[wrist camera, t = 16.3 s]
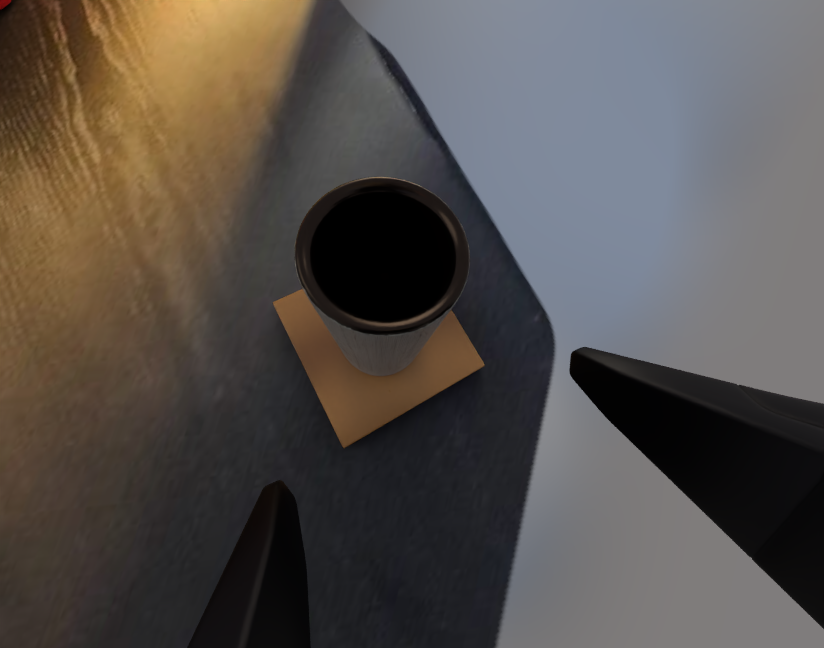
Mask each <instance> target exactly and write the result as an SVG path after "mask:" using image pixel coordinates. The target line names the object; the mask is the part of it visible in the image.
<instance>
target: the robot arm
mask: <svg viewBox="0 0 824 648" xmlns="http://www.w3.org/2000/svg"><path fill="white" fill-rule="evenodd" d="M570 375H571V377H572V378H573V380H574V381H575V382H576V383H577V384H578V386H579V387H580V388H581V389H582V390H583V391H584V393H585V394H586V395H587V396H588V397H589V398H590V400H591V401H592V402H593V403H594V404H595V405H596V406H597V408H598V409H599V410H600V411H601V412H602V413H603V414H604V416H605V417H606V418H607V419H608V420H609V421H610V422H611V423H612V424H613V425H614V426H615V427H617V429H618V430H619V431H620V432H622V433H623V434H624V435H625V436H626V437H627V438H628V439H629V440H630V441H631V442H632V443H633V444H634V445H635V446H636V447H637V448H638V449H639V450H640V451H641V452H642V453H643V454H644V455H645V456H646V457H647V458H648V459H649V460H650V461H651V462H652V463H653V464H655V466H657V467H658V468H659V469H660V470H661V471H662V472H663V473H664V474H665V475H666V476H667V477H668V478H669V479H670V480H671V481H672V482H673V483H674V484H675V485H676V486H677V487H678V488H679V489H680V490H681V491H682V492H683V493H684V494H686V496H687V497H689V498H690V499H691V500H692V501H693V502H694V503H695V504H696V505H697V506H698V507H699V508H700V509H701V510H702V511H703V512H704V513H705V514H706V515H707V516H708V517H709V518H710V519H711V520H712V521H713V522H714V523H715V524H716V525H717V526H718V527H719V528H721V529H722V530H723V531H724V532H725V533H726V534H727V535H728V536H729V537H730V538H731V539H732V540H733V541H734V542H735V543H736V544H737V545H738V546H739V547H740V548H741V549H742V550H743V551H744V552H745V553H746V554H747V555H748V556H749V557H751V558H752V560H753V561H754V562H755V563H756V564H757V565H758V566H759V567H760V568H761V569H763V570H764V571H765V572H766V573H767V574H768V575H769V576H770V577H771V578H772V579H773V580H774V581H775V582H776V583H777V584H778V585H779V586H780V587H781V588H782V589H783V590H784V591H785V592H786V593H787V594H788V595H789V596H790V597H792V599H793V600H795V601H796V602H797V603H798V604H799V605H800V606H801V607H802V608H803V609H804V610H805V611H806V612H807V613H808V614H809V615H810V616H811V617H812V618H813V619H814V620H815V621H816V622H817V623H818V624H819V625H820V626H821V627H822V628H823V629H824V404H821V403H817V402H812V401H807V400H802V399H798V398H793V397H788V396H784V395H779V394H776V393H771V392H767V391H762V390H758V389H754V388H750V387H746V386H742V385H737V384H734V383H730V382H726V381H721V380H718V379H714V378H710V377H705V376H701V375H697V374H693V373H689V372H685V371H681V370H677V369H673V368H669V367H665V366H661V365H657V364H653V363H649V362H645V361H641V360H637V359H632V358H628V357H624V356H620V355H616V354H612V353H608V352H604V351H600V350H596V349H592V348H587V347H582V348H579V349H577V350H575V351H573V352H572V354H571V360H570ZM187 648H311V647H310V626H309V605H308V585H307V569H306V560H305V553H304V547H303V541H302V534H301V528H300V522H299V515H298V509H297V503H296V500H295V497H294V496H293V494H292V493H291V492H290V490H289V489H288V488H287V486H286V485H285V484H284V482H283V481H281V480H278V481H276V482H273V483H271V484H269V485H267V486H265V487H264V488H263V490H262V492H261V494H260V496H259V498H258V500H257V502H256V504H255V506H254V508H253V511H252V513H251V515H250V517H249V519H248V521H247V523H246V525H245V527H244V529H243V532H242V534H241V536H240V538H239V540H238V542H237V544H236V546H235V548H234V550H233V553H232V555H231V557H230V559H229V561H228V563H227V565H226V567H225V569H224V571H223V574H222V576H221V578H220V580H219V582H218V584H217V586H216V588H215V590H214V592H213V595H212V597H211V599H210V601H209V603H208V605H207V607H206V609H205V611H204V613H203V616H202V618H201V620H200V622H199V624H198V626H197V628H196V630H195V632H194V634H193V637H192V639H191V641H190V643H189V645H188V647H187Z"/></svg>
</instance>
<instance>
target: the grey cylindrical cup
mask: <svg viewBox="0 0 824 648" xmlns="http://www.w3.org/2000/svg"><path fill="white" fill-rule="evenodd" d="M294 258H295V267H296V272H297V276H298V279H299V281H300V284H301V286H302V288H303V290H304V292H305V294H306V296H307V297H308V299H309V300H310V302H311V304H312V305H313V307H314V308H315V310H316V311H317V313H318V315H319V316H320V318H321V319H322V321H323V322H324V324H325V326H326V327H327V329H328V330H329V332H330V333H331V335H332V336H333V338H334V340H335V341H336V343H337V344H338V346H339V347H340V349H341V351H342V352H343V354H344V355H345V357H346V358H347V360H348V361H349V362H350V363H351V364H352V365H353V366H354V367H356V368H357V369H358V370H360V371H362V372H364V373H366V374H369V375H373V376H387V375H392V374H395V373H397V372H399V371H401V370H403V369H404V368H406V367H407V366H408V365H409V364H410V363H411V362H412V361H413V360H414V359H415V357H416V356H417V355H418V353H419V352H420V350H421V349H422V348H423V346H424V345H425V344H426V342H427V341H428V340H429V338H430V337H431V336H432V334H433V333H434V332H435V330H436V329H437V328H438V326H439V325H440V324H441V322H442V321H443V320H444V318H445V317H446V316H447V314H448V313H449V312H450V310H451V309H452V307H453V306H454V305H455V303H456V302H457V300H458V299H459V297H460V295H461V293H462V292H463V289H464V287H465V285H466V282H467V278H468V274H469V268H470V251H469V245H468V240H467V237H466V234H465V231H464V229H463V227H462V225H461V223H460V221H459V220H458V218H457V216H456V215H455V214H454V212H453V211H452V210H451V209H450V207H449V206H448V205H447V204H446V203H445V202H444V201H443V200H441V199H440V198H439V197H438V196H436V195H435V194H434V193H432V192H431V191H429V190H427V189H425V188H424V187H422V186H419V185H417V184H415V183H412V182H409V181H406V180H402V179H397V178H390V177H368V178H362V179H357V180H354V181H350V182H347V183H345V184H342V185H340V186H338V187H336V188H334V189H333V190H331V191H330V192H328V193H327V194H325V195H324V196H323V197H321V198H320V199H319V200H318V201H317V202H316V203H315V204H314V205H313V206H312V208H311V209H310V210H309V211H308V213H307V214H306V216H305V218H304V219H303V221H302V223H301V226H300V228H299V231H298V234H297V238H296V242H295V251H294Z"/></svg>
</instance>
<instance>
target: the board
mask: <svg viewBox="0 0 824 648" xmlns="http://www.w3.org/2000/svg"><path fill="white" fill-rule="evenodd" d="M273 305H274V307H275V309H276V311H277V313H278V315H279V317H280V319H281V321H282V323H283V325H284V327H285V329H286V332H287V334H288V336H289V338H290V340H291V342H292V344H293V346H294V348H295V350H296V352H297V354H298V356H299V358H300V360H301V362H302V364H303V366H304V368H305V371H306V373H307V375H308V377H309V379H310V381H311V383H312V385H313V387H314V389H315V391H316V393H317V395H318V397H319V399H320V401H321V403H322V405H323V408H324V410H325V412H326V414H327V416H328V418H329V420H330V422H331V424H332V426H333V428H334V430H335V432H336V434H337V436H338V438H339V440H340V442H341V445H342V447H343V448H346V447H347V446H349V445H351V444H352V443H354V442H356V441H358V440H359V439H361V438H363V437H364V436H366V435H368V434H369V433H371V432H373V431H375V430H376V429H378V428H380V427H381V426H383V425H385V424H387V423H388V422H390V421H392V420H393V419H395V418H397V417H398V416H400V415H402V414H404V413H405V412H407V411H409V410H410V409H412V408H414V407H415V406H417V405H419V404H421V403H422V402H424V401H426V400H427V399H429V398H431V397H432V396H434V395H436V394H438V393H439V392H441V391H443V390H444V389H446V388H448V387H449V386H451V385H453V384H455V383H456V382H458V381H460V380H461V379H463V378H465V377H466V376H468V375H470V374H472V373H473V372H475V371H477V370H478V369H480V368H482V367H484V366H485V365H484V363H483V361H482V360H481V358H480V356H479V355H478V353H477V351H476V350H475V348H474V346H473V345H472V343H471V341H470V340H469V338H468V336H467V335H466V333H465V331H464V330H463V328H462V326H461V325H460V323H459V322H458V320H457V318H456V317H455V315H454V313H453V312H452V310H450V312H449V313H448V314H447V316H446V317H445V318H444V320H443V321H442V322H441V324H440V325H439V326H438V328H437V329H436V330H435V332H434V333H433V334H432V336H431V337H430V338H429V340H428V341H427V342H426V344H425V345H424V346H423V348H422V349H421V350H420V352H419V353H418V355H417V356H416V357H415V359H414V360H413V361H412V362H411V363H410V364H409V365H408V366H407V367H406V368H404V369H403V370H401V371H399V372H397V373H395V374H392V375H387V376H373V375H369V374H366V373H364V372H362V371H360V370H358V369H357V368H356V367H354V366H353V365H352V364H351V363H350V362H349V361H348V360H347V358H346V357H345V355H344V354H343V352H342V351H341V349H340V347H339V346H338V344H337V343H336V341H335V340H334V338H333V336H332V335H331V333H330V332H329V330H328V329H327V327H326V326H325V324H324V322H323V321H322V319H321V318H320V316H319V315H318V313H317V311H316V310H315V308H314V307H313V305H312V304H311V302H310V300H309V299H308V297H307V296H306V294H305V292H304V290H303V289H301V290H299V291H297V292H295V293H292V294H290V295H288V296H286V297H284V298H281V299H279V300H277V301H275V302H273Z"/></svg>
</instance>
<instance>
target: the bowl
mask: <svg viewBox="0 0 824 648" xmlns="http://www.w3.org/2000/svg"><path fill="white" fill-rule="evenodd" d="M11 1H12V0H0V11H1V10H2V9H3V8H4V7H5V6H7V5H8V4H9V3H10V2H11Z"/></svg>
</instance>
